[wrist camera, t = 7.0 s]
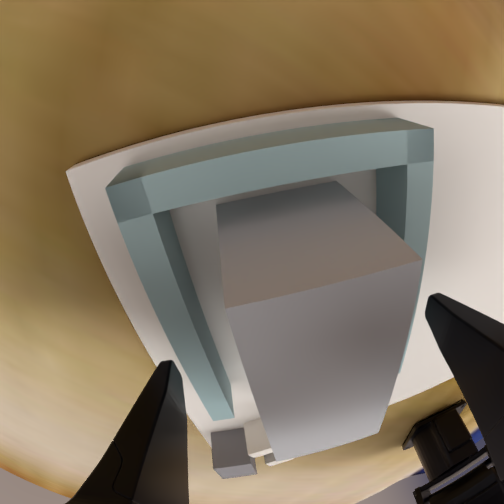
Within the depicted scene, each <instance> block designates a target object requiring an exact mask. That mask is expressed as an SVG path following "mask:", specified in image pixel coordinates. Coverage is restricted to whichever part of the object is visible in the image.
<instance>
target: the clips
mask: <svg viewBox="0 0 504 504" xmlns="http://www.w3.org/2000/svg"><path fill="white" fill-rule="evenodd" d="M244 431H245V438H246V445H247V451H248V455H249V456H251V457H253V458H256V457H259V456H262V455H264V459H265V464H267V465H269V466H273V465H276V464H280V463H283V462H286V461H289V460H292V459H294V458H291V459H287V460H282V461H277V462H276V459H275V457H274V454H273V451H272V449H271V446H270V443H269V440H268V437H267V435H266V432H265V429H264V426H263V423H262V420H261V418H258V419H255V420H253V421H250V422H247V423H244Z"/></svg>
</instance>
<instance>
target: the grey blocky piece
mask: <svg viewBox="0 0 504 504" xmlns="http://www.w3.org/2000/svg"><path fill="white" fill-rule="evenodd" d="M211 446H212V459H213V469H214V470H215V471H216V472H217V473H218V474H219V475H220V476H221V477H222V479H226V478H234V477H241V476H248V475H254V474H257V470H256V464H255V458H253V457H251V456H249V455H248V451H247V445H246V438H245V431H244V428H238V429H232V430H225V431H218V432H211Z"/></svg>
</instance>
